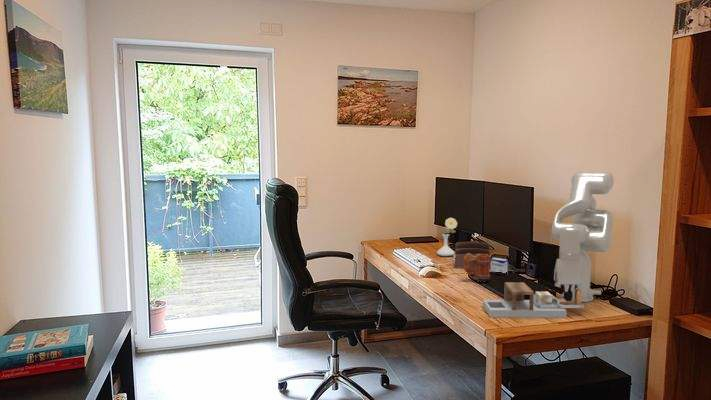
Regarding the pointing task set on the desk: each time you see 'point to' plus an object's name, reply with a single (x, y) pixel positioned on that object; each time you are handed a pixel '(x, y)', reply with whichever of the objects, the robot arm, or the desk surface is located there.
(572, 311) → the desk surface
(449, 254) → the flower in vase
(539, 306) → the sled
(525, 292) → the tunnel
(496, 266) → the box
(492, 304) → the track deck
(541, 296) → the block
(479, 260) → the mug
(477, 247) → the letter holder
